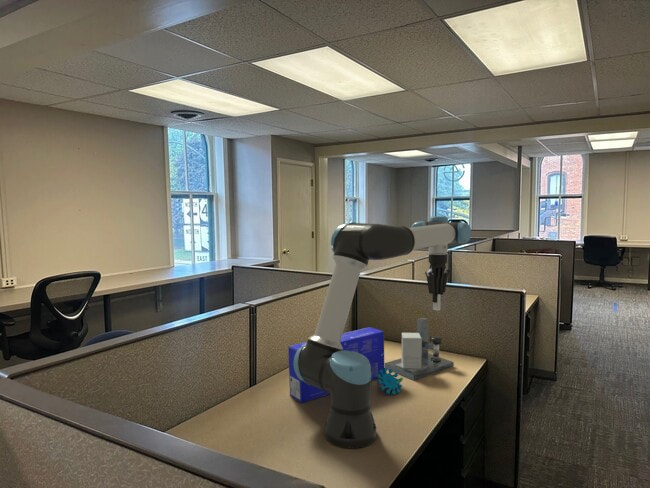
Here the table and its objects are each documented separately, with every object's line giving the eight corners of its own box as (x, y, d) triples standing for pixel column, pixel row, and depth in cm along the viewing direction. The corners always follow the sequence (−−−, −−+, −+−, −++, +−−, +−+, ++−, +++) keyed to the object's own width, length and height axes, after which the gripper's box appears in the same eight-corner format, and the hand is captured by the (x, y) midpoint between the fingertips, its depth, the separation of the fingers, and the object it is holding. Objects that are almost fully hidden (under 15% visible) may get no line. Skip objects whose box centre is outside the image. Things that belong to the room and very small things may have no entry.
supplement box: (419, 362, 176) (419, 332, 175) (421, 369, 169) (422, 338, 167) (401, 361, 177) (401, 332, 175) (402, 368, 169) (402, 337, 168)
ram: (436, 358, 176) (437, 340, 176) (427, 355, 180) (427, 337, 180) (444, 356, 179) (445, 337, 178) (435, 353, 183) (435, 334, 182)
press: (413, 380, 164) (414, 334, 162) (384, 367, 177) (385, 325, 175) (453, 366, 178) (454, 324, 176) (424, 355, 190) (424, 316, 189)
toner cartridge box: (370, 370, 174) (370, 326, 172) (384, 377, 167) (385, 331, 165) (288, 395, 152) (287, 344, 150) (300, 404, 145) (300, 351, 143)
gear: (383, 394, 148) (375, 367, 154) (375, 401, 152) (367, 374, 158) (409, 392, 153) (399, 366, 159) (400, 399, 157) (391, 373, 163)
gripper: (434, 255, 169) (433, 314, 171) (455, 253, 177) (454, 309, 179) (420, 253, 175) (419, 310, 177) (441, 251, 183) (439, 306, 185)
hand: (436, 309), depth 178 cm, fingers closed
